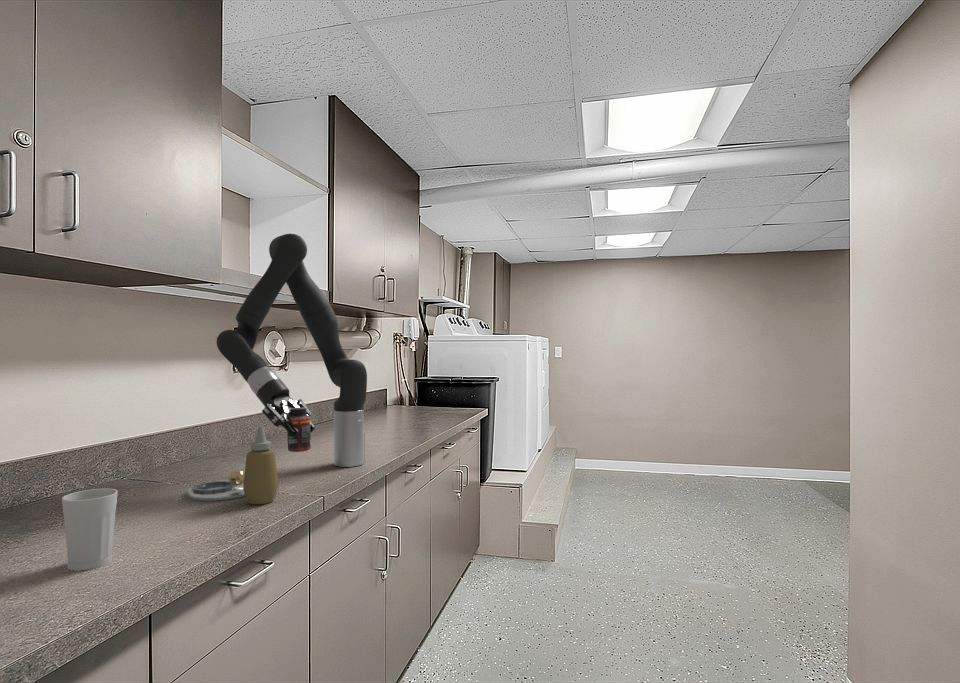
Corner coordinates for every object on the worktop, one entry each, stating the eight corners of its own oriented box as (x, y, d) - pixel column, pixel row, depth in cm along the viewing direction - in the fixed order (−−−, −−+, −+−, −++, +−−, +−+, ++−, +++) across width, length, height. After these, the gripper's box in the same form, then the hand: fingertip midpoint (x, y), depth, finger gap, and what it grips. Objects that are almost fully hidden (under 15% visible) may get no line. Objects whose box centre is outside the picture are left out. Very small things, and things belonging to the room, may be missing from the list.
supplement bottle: (314, 448, 151) (313, 406, 151) (305, 452, 145) (304, 409, 145) (293, 448, 152) (292, 406, 152) (283, 452, 146) (282, 409, 146)
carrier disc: (223, 482, 154) (223, 466, 154) (270, 487, 148) (270, 470, 148) (173, 497, 139) (173, 479, 139) (222, 503, 133) (222, 485, 133)
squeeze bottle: (265, 495, 140) (265, 424, 140) (285, 500, 136) (285, 426, 136) (235, 503, 134) (235, 428, 134) (255, 508, 129) (255, 430, 129)
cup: (100, 571, 93) (100, 500, 93) (50, 573, 92) (50, 501, 93) (127, 554, 101) (127, 487, 101) (80, 555, 100) (80, 489, 100)
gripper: (256, 379, 144) (294, 427, 140) (293, 375, 158) (329, 419, 154) (240, 399, 146) (277, 447, 142) (278, 393, 160) (313, 437, 155)
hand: (304, 432), depth 148 cm, fingers closed on supplement bottle, 6 cm apart
